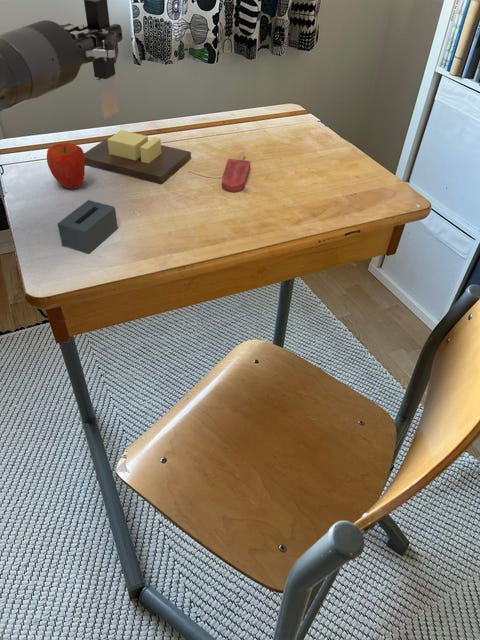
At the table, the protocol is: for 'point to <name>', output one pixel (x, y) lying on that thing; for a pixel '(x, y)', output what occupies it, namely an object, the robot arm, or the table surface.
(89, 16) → the knife
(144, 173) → the butter board
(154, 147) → the butter slice
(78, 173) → the apple
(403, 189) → the table surface
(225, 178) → the popsicle
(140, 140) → the butter block
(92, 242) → the knife stand
